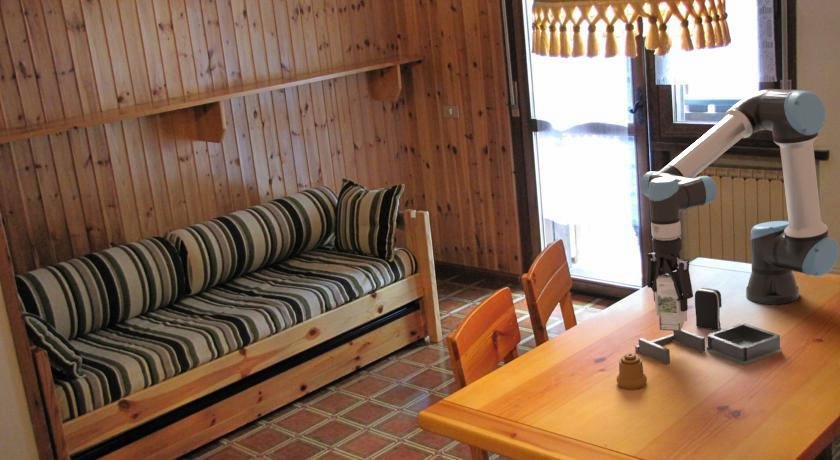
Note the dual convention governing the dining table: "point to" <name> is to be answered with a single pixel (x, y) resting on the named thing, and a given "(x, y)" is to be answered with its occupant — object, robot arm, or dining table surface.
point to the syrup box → (667, 304)
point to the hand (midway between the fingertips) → (671, 317)
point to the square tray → (744, 343)
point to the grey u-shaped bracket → (662, 353)
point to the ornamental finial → (631, 372)
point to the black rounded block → (708, 308)
